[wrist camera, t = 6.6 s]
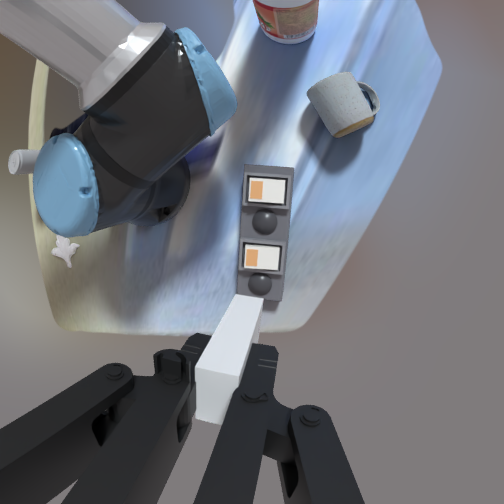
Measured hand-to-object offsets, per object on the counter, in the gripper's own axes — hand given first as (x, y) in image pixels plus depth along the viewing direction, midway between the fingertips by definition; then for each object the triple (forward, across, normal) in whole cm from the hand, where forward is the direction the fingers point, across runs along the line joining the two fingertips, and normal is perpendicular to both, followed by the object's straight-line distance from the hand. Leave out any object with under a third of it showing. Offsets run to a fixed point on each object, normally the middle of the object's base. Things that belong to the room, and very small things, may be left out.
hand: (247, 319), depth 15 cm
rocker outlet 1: (+26, -2, +6) cm, 27 cm away
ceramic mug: (+31, +8, +20) cm, 38 cm away
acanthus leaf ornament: (+32, -45, -10) cm, 56 cm away
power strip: (+31, -2, -1) cm, 31 cm away
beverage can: (+31, -49, +9) cm, 59 cm away
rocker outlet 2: (+26, -2, -4) cm, 27 cm away
